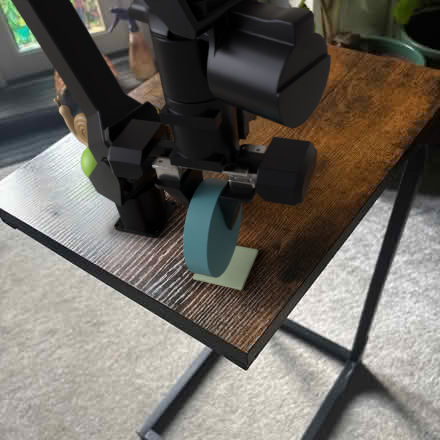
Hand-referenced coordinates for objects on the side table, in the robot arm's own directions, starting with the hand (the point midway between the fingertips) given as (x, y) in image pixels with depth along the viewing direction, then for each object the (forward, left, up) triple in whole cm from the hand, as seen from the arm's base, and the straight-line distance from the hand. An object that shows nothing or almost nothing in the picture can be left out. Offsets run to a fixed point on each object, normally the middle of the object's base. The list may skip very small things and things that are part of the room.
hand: (219, 224), depth 49 cm
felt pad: (0, 0, -7) cm, 7 cm away
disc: (-1, 0, +1) cm, 1 cm away
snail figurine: (+11, +23, -7) cm, 26 cm away
